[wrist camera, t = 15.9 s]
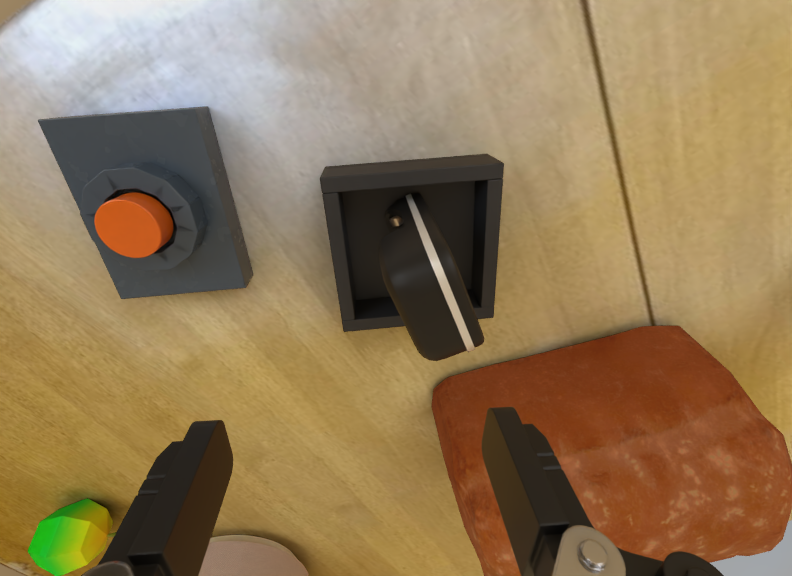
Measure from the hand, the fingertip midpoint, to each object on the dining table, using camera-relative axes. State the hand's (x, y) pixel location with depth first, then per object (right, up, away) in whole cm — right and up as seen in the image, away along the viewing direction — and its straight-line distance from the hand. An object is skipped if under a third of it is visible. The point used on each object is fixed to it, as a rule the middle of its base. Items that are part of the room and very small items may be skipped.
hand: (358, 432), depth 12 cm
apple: (-31, -19, +30) cm, 47 cm away
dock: (+2, +8, +18) cm, 20 cm away
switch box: (-15, +10, +15) cm, 24 cm away
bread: (+17, -8, +28) cm, 34 cm away
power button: (-15, +9, +12) cm, 21 cm away
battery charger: (+2, +8, +17) cm, 19 cm away
